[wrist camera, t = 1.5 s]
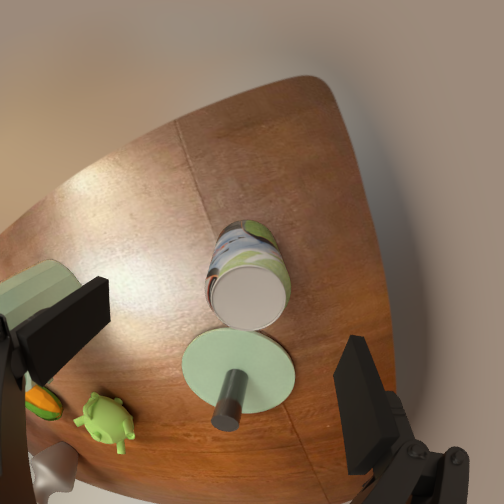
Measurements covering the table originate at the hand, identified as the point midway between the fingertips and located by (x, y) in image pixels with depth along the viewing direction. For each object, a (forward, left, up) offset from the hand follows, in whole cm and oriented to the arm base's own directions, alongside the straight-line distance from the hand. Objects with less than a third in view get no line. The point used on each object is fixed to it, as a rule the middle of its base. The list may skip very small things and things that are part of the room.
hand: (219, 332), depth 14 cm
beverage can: (0, 0, -16) cm, 16 cm away
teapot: (+36, -19, -16) cm, 44 cm away
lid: (+17, +1, -16) cm, 23 cm away
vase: (+73, -43, -16) cm, 86 cm away
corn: (+44, -43, -16) cm, 64 cm away
